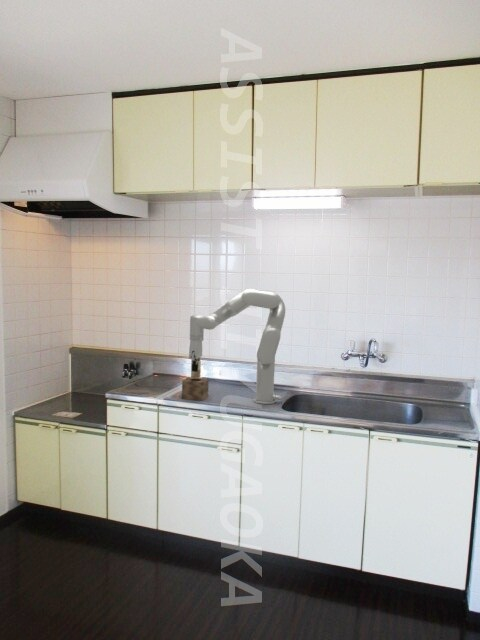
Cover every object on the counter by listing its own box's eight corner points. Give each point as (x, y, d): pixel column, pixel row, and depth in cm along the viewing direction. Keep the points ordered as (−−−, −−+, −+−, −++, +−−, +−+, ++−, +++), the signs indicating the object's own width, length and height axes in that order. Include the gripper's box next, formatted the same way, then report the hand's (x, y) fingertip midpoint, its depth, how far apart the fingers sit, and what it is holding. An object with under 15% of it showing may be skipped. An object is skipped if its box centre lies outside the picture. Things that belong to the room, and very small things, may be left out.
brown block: (208, 396, 290) (208, 378, 289) (202, 400, 280) (203, 382, 279) (187, 394, 293) (188, 377, 292) (181, 398, 283) (182, 380, 282)
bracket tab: (200, 376, 286) (200, 360, 285) (198, 377, 283) (199, 361, 282) (192, 376, 287) (193, 360, 286) (190, 377, 284) (191, 361, 283)
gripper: (194, 335, 292) (193, 367, 294) (185, 339, 276) (184, 373, 278) (207, 336, 290) (206, 368, 292) (198, 340, 274) (197, 374, 276)
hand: (195, 370), depth 285 cm, fingers closed on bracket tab, 3 cm apart
